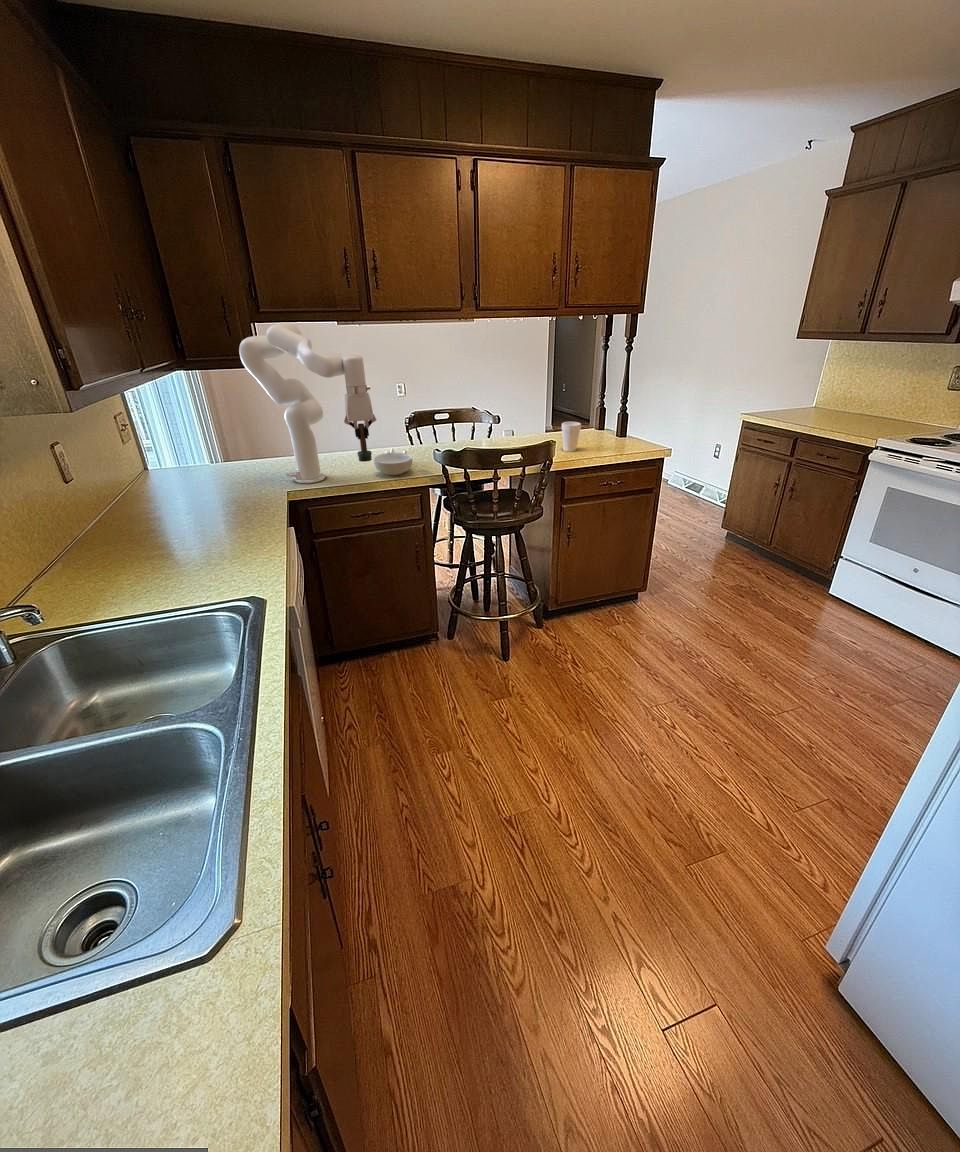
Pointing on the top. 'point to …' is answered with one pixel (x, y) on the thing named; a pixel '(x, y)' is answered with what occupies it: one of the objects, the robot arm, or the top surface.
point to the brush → (363, 446)
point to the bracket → (394, 452)
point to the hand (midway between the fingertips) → (362, 437)
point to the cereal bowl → (393, 463)
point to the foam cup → (570, 435)
